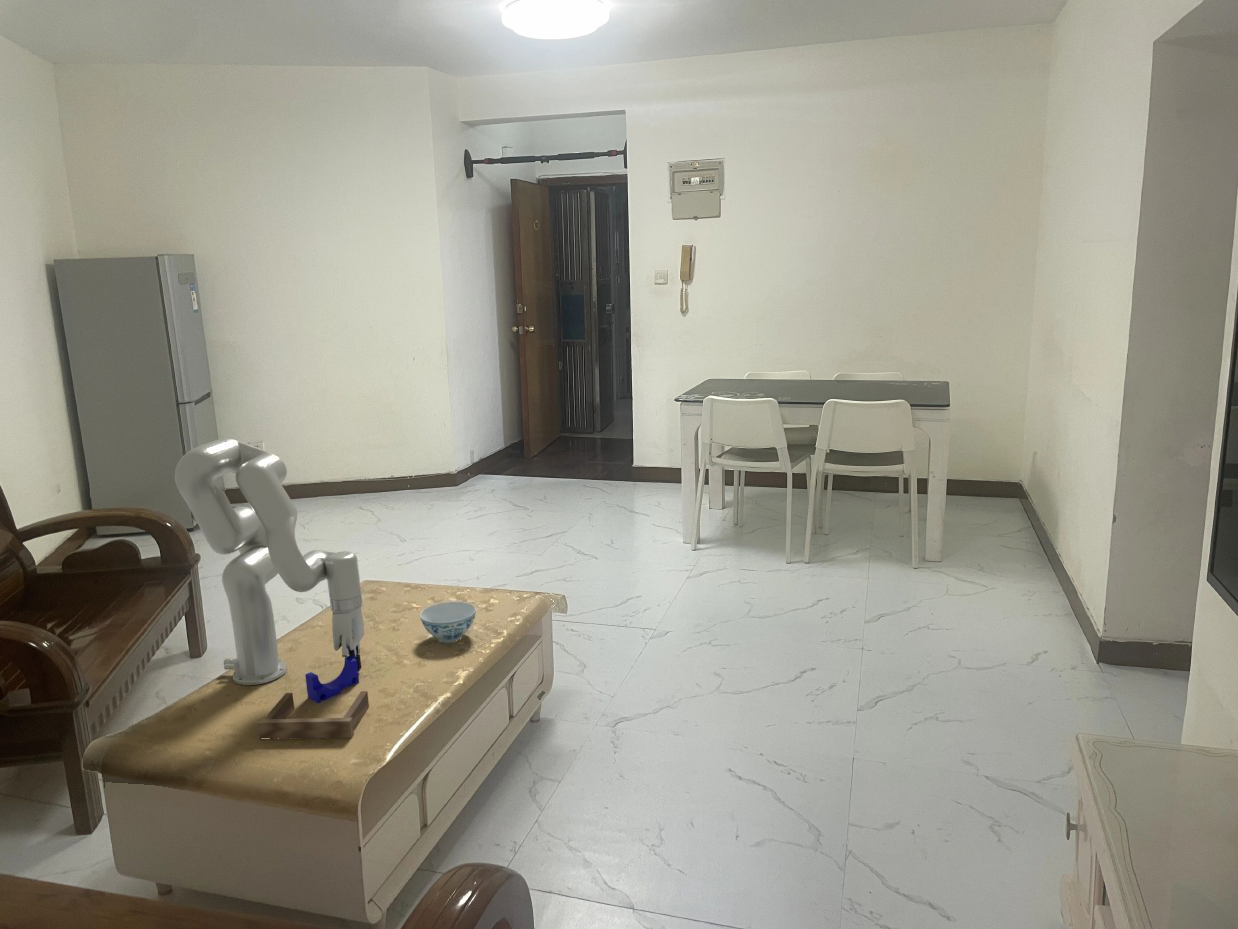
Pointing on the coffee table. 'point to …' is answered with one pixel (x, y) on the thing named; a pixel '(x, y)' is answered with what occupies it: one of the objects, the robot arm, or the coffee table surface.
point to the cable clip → (331, 689)
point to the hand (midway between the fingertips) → (354, 670)
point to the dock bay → (311, 721)
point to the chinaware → (448, 620)
